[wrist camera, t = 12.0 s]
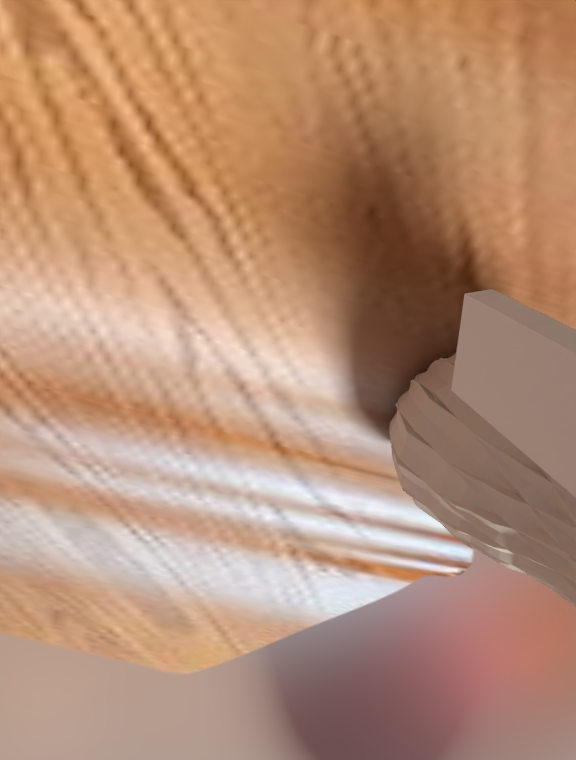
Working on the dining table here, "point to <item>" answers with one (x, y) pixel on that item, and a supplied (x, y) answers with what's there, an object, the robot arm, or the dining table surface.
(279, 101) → the dining table surface
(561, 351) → the robot arm
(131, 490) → the dining table surface
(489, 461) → the vase
